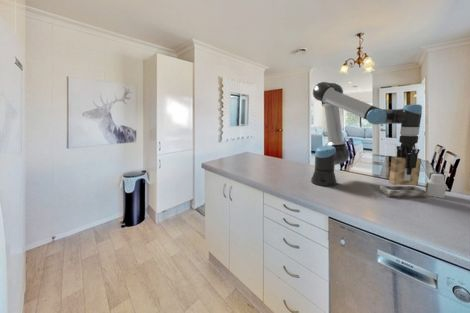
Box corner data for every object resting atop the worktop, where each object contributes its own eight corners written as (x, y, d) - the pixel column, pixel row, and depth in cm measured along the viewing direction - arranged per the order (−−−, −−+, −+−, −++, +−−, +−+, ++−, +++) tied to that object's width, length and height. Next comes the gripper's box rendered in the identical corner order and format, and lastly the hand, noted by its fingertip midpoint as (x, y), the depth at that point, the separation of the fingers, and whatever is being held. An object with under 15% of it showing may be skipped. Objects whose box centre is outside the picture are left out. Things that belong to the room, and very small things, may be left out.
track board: (389, 197, 112) (389, 190, 112) (379, 191, 121) (379, 185, 121) (425, 197, 111) (426, 191, 110) (413, 192, 120) (414, 186, 119)
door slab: (393, 184, 113) (396, 158, 111) (388, 182, 117) (391, 157, 115) (417, 185, 112) (421, 158, 110) (412, 182, 116) (415, 157, 114)
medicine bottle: (425, 192, 119) (428, 171, 117) (442, 194, 115) (446, 173, 113) (425, 195, 114) (429, 173, 112) (444, 198, 110) (448, 176, 107)
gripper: (430, 136, 102) (423, 183, 106) (405, 134, 118) (400, 175, 122) (413, 136, 102) (407, 183, 106) (390, 134, 119) (386, 174, 123)
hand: (403, 178), depth 114 cm, fingers closed on door slab, 4 cm apart
